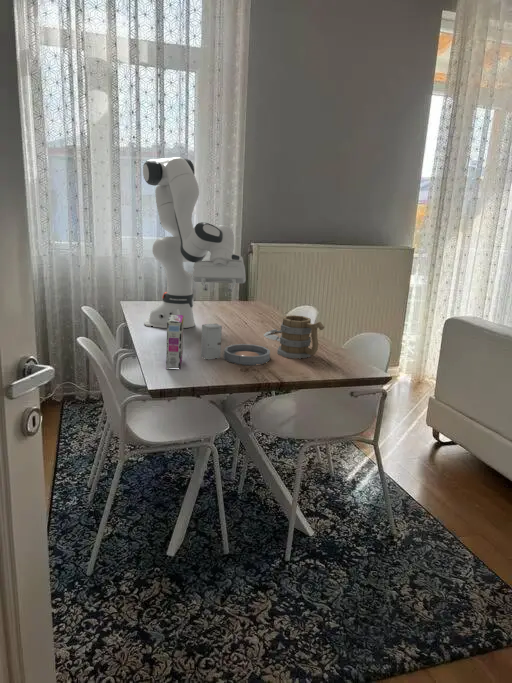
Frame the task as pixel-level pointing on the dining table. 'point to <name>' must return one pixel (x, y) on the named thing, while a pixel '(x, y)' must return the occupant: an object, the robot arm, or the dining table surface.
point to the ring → (273, 337)
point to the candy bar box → (174, 341)
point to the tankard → (298, 337)
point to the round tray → (246, 354)
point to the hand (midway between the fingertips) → (217, 290)
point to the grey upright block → (211, 341)
